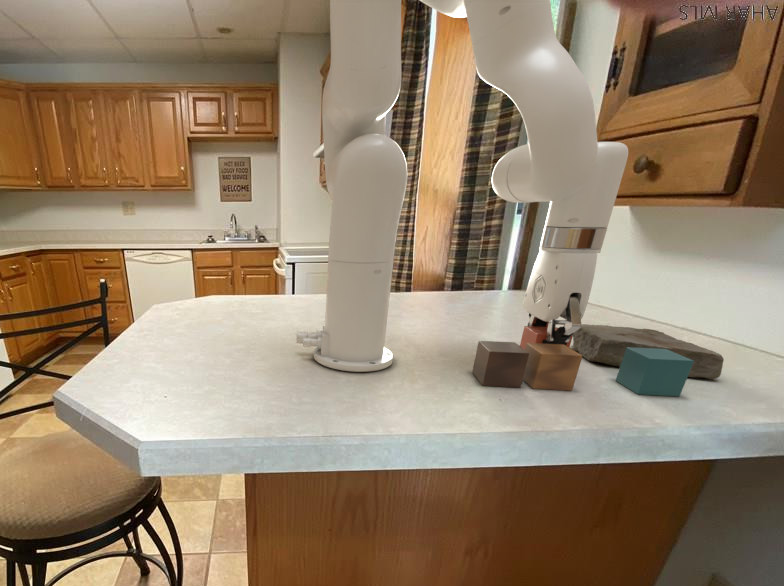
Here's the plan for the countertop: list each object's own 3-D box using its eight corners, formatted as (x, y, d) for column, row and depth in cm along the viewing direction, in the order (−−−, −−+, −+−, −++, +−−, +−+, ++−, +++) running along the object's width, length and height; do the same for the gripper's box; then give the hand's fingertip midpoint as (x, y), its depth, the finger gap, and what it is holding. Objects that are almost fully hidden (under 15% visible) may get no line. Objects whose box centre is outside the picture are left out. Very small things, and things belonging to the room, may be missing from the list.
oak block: (532, 388, 58) (541, 353, 56) (518, 375, 62) (526, 342, 60) (572, 390, 57) (582, 355, 55) (554, 377, 62) (564, 344, 60)
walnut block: (482, 385, 58) (489, 351, 57) (472, 372, 63) (478, 340, 61) (521, 387, 58) (529, 353, 56) (507, 374, 62) (515, 342, 60)
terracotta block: (529, 365, 66) (537, 334, 64) (517, 355, 71) (524, 325, 69) (564, 366, 66) (573, 335, 64) (549, 356, 70) (557, 327, 68)
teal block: (637, 394, 56) (650, 358, 54) (615, 380, 60) (626, 347, 59) (679, 396, 55) (694, 360, 53) (653, 382, 60) (666, 348, 58)
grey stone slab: (720, 381, 60) (733, 353, 58) (602, 373, 63) (611, 346, 62) (652, 347, 75) (661, 324, 73) (560, 341, 78) (566, 319, 77)
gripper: (520, 236, 69) (497, 342, 76) (573, 244, 54) (538, 377, 61) (569, 237, 68) (541, 344, 75) (638, 245, 53) (594, 380, 60)
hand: (540, 358), depth 68 cm, fingers closed on terracotta block, 5 cm apart
